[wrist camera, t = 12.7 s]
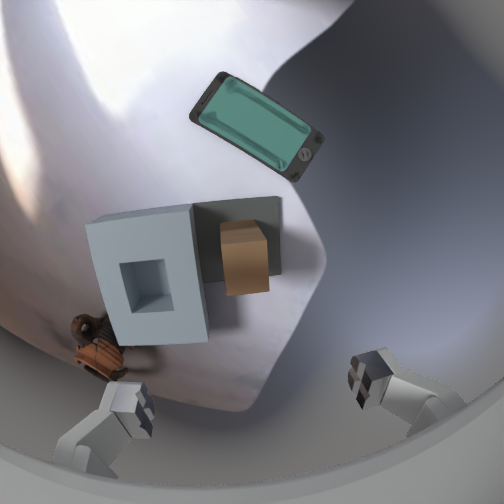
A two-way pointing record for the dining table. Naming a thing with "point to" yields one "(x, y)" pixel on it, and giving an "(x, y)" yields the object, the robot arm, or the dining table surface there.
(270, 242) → the rubber mat
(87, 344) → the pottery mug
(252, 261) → the walnut block
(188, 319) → the pocket holder
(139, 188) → the dining table surface
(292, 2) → the dining table surface
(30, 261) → the dining table surface
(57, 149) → the dining table surface
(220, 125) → the smartphone
